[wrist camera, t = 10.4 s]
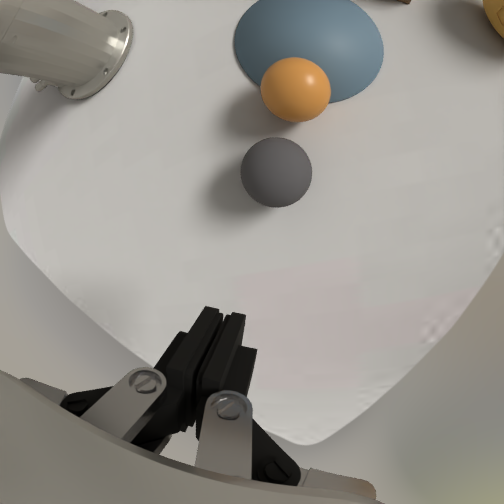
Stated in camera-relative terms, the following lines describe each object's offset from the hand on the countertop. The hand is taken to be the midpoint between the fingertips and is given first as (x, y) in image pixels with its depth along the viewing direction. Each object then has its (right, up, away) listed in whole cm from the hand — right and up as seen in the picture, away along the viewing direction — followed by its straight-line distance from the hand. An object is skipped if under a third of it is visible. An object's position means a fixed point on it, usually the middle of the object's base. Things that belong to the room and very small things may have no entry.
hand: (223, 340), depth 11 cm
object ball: (+5, +16, +8) cm, 19 cm away
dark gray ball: (+3, +10, +10) cm, 14 cm away
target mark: (+6, +23, +8) cm, 26 cm away
